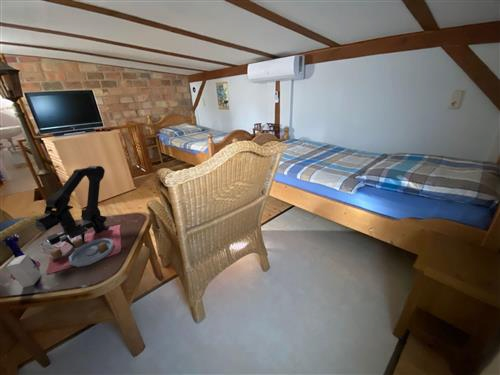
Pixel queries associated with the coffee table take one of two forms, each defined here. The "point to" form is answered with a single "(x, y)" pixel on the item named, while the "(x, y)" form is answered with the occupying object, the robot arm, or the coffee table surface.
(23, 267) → the skincare box
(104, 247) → the wooden rounded peg
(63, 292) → the coffee table surface
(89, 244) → the groove tray
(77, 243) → the bead
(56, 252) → the bead
